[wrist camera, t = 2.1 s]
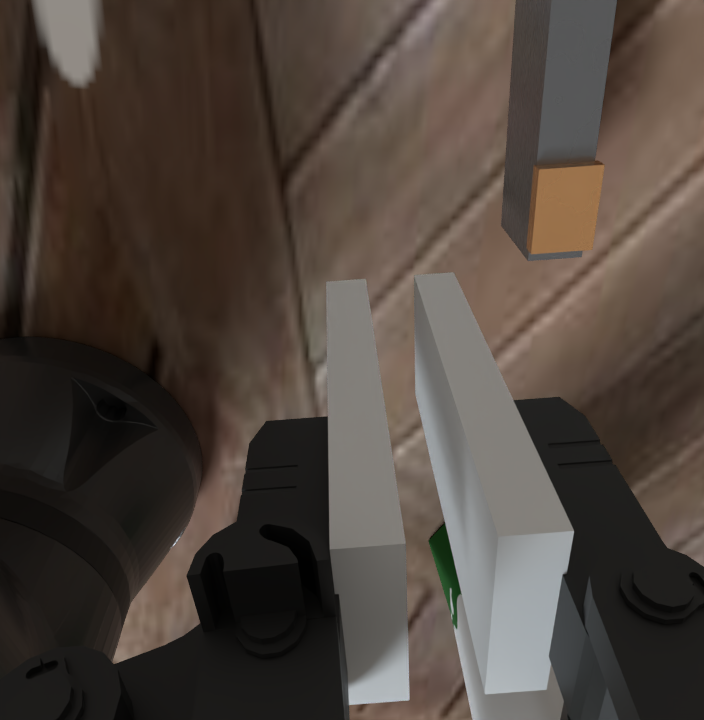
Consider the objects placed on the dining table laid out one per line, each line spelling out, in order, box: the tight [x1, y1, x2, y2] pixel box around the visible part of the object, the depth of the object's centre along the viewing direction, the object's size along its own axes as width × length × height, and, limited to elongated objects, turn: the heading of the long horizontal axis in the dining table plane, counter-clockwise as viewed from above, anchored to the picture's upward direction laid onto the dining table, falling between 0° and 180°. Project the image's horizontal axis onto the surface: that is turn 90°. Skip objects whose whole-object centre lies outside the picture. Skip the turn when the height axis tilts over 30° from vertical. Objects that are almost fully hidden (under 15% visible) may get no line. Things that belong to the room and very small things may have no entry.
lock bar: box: [501, 0, 617, 261], centre depth 20 cm, size 17×3×5 cm, turn 3°
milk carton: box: [429, 524, 564, 720], centre depth 30 cm, size 9×9×20 cm
